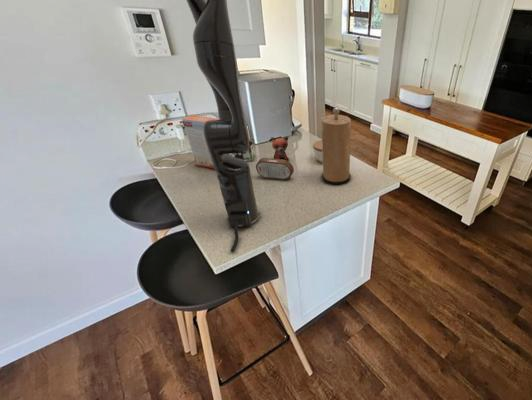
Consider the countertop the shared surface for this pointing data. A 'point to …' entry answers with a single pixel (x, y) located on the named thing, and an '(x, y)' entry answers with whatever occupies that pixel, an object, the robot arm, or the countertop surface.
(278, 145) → the stuffed fox
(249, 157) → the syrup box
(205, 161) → the cracker box
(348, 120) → the paper towel roll
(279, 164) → the tin
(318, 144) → the trinket box
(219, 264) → the countertop surface
